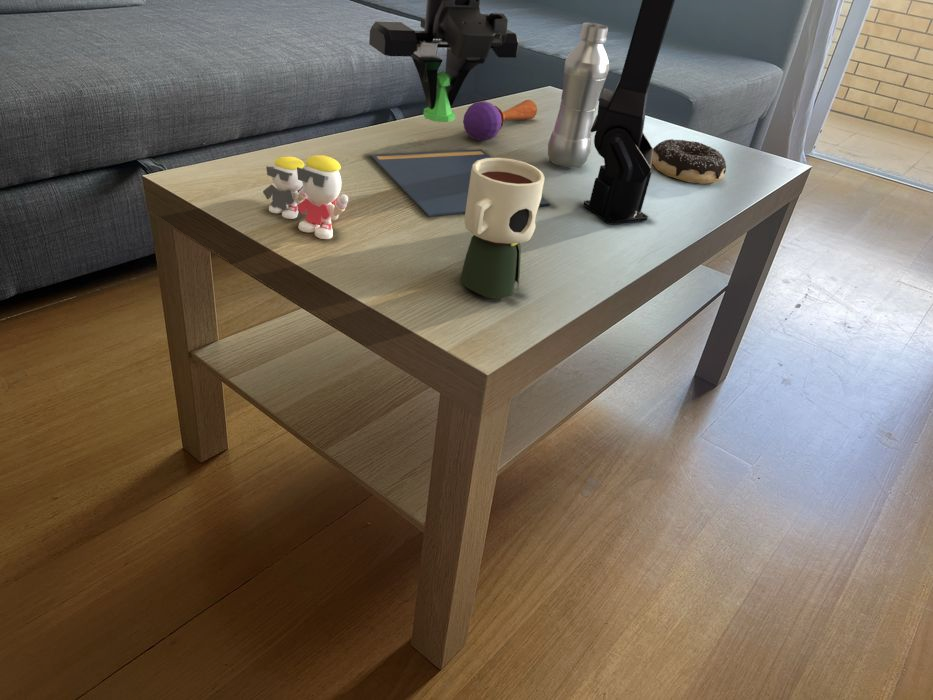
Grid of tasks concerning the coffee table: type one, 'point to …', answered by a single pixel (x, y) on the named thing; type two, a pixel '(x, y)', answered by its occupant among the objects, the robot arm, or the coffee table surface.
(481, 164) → the character mug
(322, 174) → the toy figures
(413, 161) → the napkin
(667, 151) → the donut
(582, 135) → the silver metal bottle
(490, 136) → the maraca
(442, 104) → the game piece
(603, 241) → the coffee table surface
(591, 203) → the robot arm
